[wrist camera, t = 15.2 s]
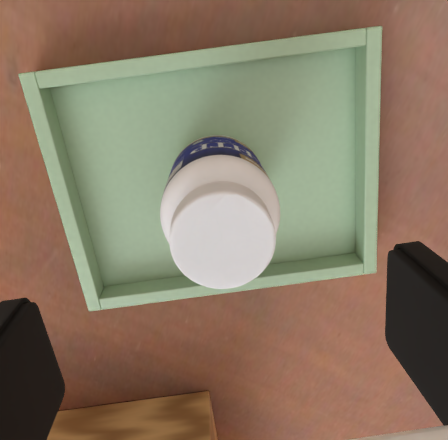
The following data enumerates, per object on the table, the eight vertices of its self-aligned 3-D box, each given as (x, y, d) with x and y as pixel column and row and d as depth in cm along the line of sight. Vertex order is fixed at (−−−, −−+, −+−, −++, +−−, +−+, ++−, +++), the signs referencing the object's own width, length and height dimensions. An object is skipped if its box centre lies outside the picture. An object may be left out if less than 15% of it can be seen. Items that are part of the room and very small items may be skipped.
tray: (97, 293, 26) (88, 312, 24) (34, 72, 21) (17, 73, 19) (363, 257, 26) (376, 273, 24) (365, 29, 21) (383, 25, 19)
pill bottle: (274, 147, 22) (316, 195, 14) (246, 230, 24) (270, 316, 16) (182, 121, 21) (169, 156, 13) (161, 209, 23) (138, 289, 15)
